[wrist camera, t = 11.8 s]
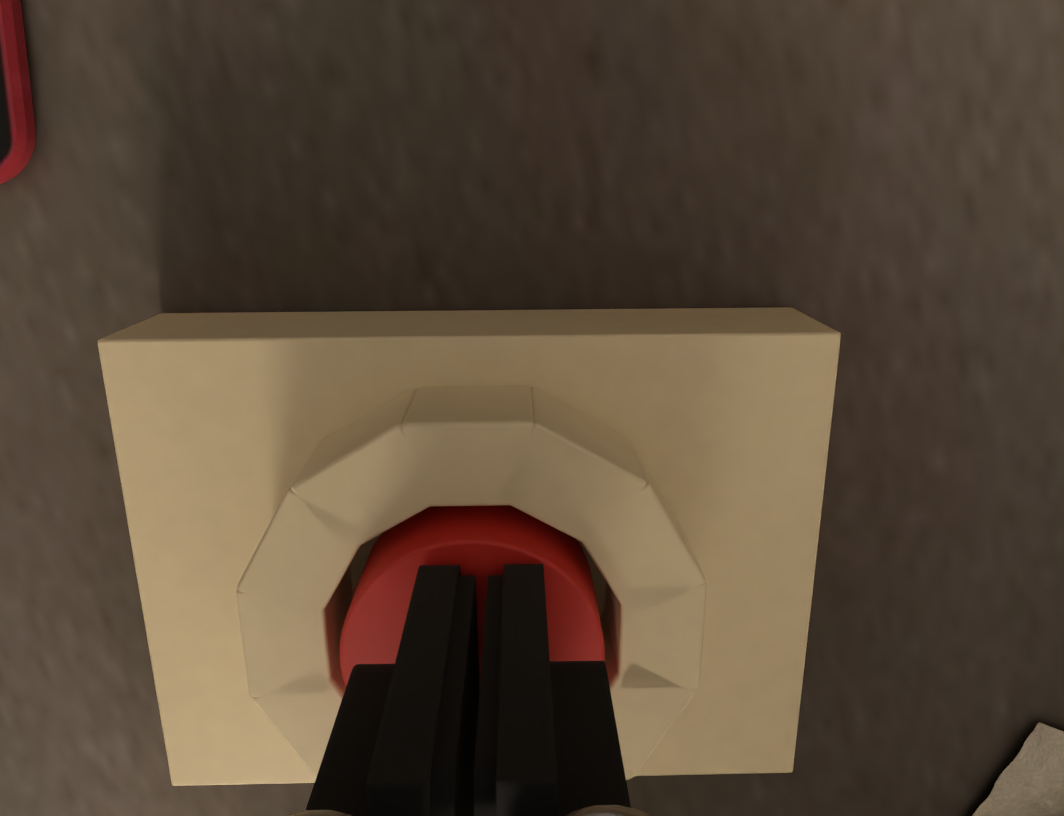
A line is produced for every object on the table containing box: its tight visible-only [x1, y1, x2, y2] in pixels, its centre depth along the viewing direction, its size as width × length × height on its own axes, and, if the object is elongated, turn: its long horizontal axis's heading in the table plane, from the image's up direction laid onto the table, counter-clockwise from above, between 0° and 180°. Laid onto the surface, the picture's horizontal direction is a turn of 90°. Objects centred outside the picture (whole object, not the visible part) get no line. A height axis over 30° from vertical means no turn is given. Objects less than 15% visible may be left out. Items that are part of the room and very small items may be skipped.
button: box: [340, 505, 605, 692], centre depth 12 cm, size 4×4×2 cm
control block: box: [98, 307, 841, 786], centre depth 13 cm, size 11×8×4 cm
